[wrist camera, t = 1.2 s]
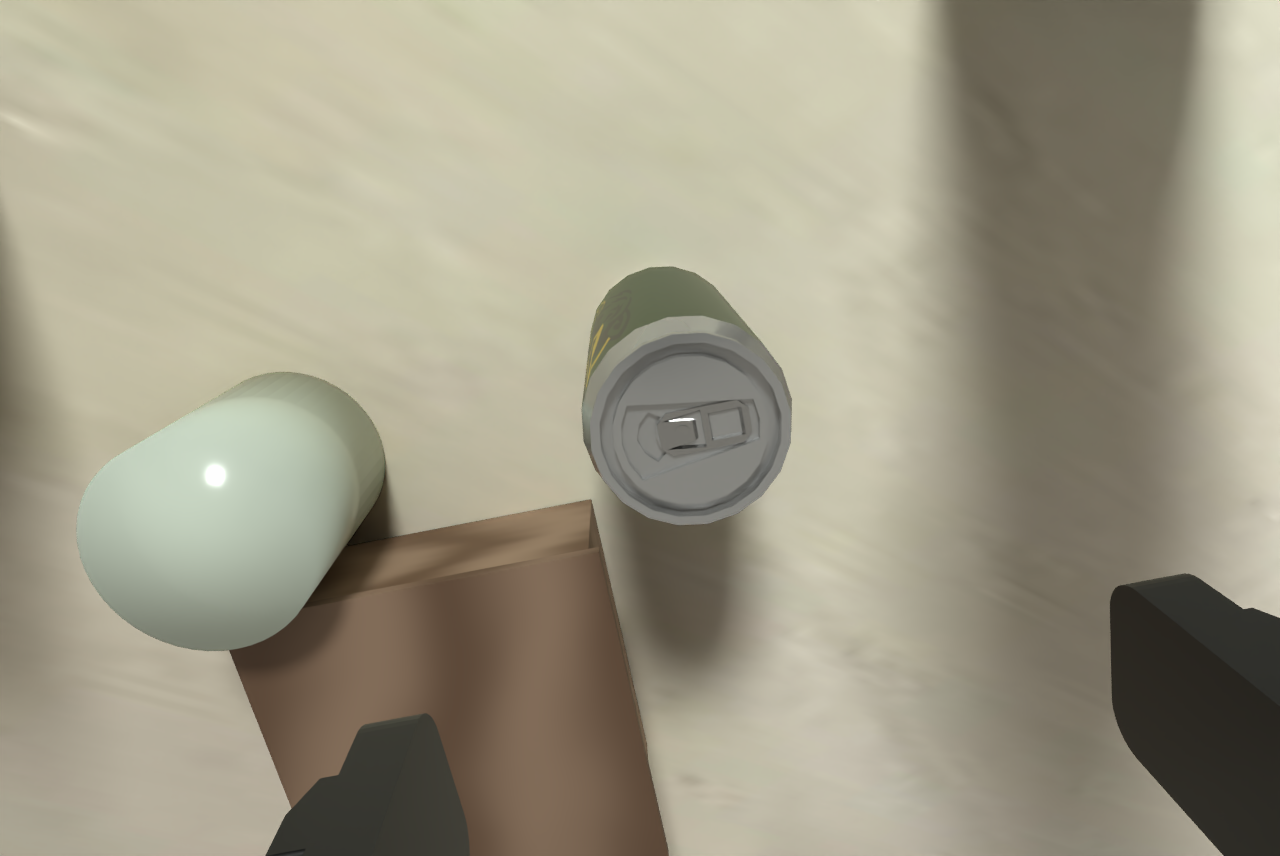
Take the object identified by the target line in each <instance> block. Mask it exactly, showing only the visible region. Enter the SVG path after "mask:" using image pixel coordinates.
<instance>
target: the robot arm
mask: <svg viewBox="0 0 1280 856" xmlns="http://www.w3.org/2000/svg"><path fill="white" fill-rule="evenodd" d="M1110 629H1111V677H1112V703H1113V709H1114V713H1115V717H1116V720H1117V723H1118V726H1119V729H1120V731H1121V733H1122V735H1123V738H1124V740H1125V741H1126V743H1127V745H1128V747H1129V748H1130V750H1131V751H1132V753H1133V754H1134V755H1135V757H1136V758H1137V759H1138V760H1139V761H1140V762H1141V764H1142V765H1143V766H1144V767H1145V768H1146V769H1147V770H1148V771H1149V773H1150V774H1151V775H1152V776H1153V777H1154V778H1155V779H1156V780H1157V781H1158V783H1159V784H1160V785H1161V786H1162V787H1163V788H1164V789H1165V790H1166V792H1167V793H1168V794H1169V795H1170V796H1171V797H1172V798H1173V799H1174V801H1175V802H1176V803H1177V804H1178V805H1179V806H1180V807H1181V808H1182V809H1183V811H1184V812H1185V813H1186V814H1187V815H1188V816H1189V817H1190V818H1191V820H1192V821H1193V822H1194V823H1195V824H1196V825H1197V826H1198V827H1199V829H1200V830H1201V831H1202V832H1203V833H1204V834H1205V835H1206V836H1207V838H1208V839H1209V840H1210V841H1211V842H1212V843H1213V844H1214V845H1215V846H1216V848H1217V849H1218V850H1219V851H1220V852H1221V853H1222V854H1223V855H1224V856H1280V618H1278V617H1275V616H1273V615H1270V614H1268V613H1265V612H1262V611H1260V610H1257V609H1254V608H1249V609H1242V608H1241V607H1239V606H1238V605H1236V604H1235V603H1234V602H1232V601H1231V600H1229V599H1228V598H1226V597H1225V596H1224V595H1222V594H1221V593H1219V592H1218V591H1216V590H1215V589H1213V588H1212V587H1211V586H1209V585H1208V584H1206V583H1205V582H1203V581H1202V580H1201V579H1199V578H1197V577H1196V576H1194V575H1191V574H1179V575H1174V576H1169V577H1163V578H1158V579H1152V580H1147V581H1142V582H1136V583H1131V584H1126V585H1121V586H1118V587H1117V588H1115V590H1114V591H1113V593H1112V596H1111V601H1110ZM266 856H470V848H469V835H468V828H467V823H466V818H465V815H464V811H463V808H462V805H461V802H460V799H459V795H458V792H457V789H456V786H455V783H454V780H453V776H452V773H451V770H450V767H449V764H448V761H447V757H446V754H445V751H444V748H443V745H442V741H441V738H440V735H439V732H438V729H437V726H436V724H435V722H434V720H433V718H432V717H431V716H430V715H429V714H427V713H424V714H418V715H413V716H408V717H402V718H397V719H391V720H386V721H381V722H375V723H370V724H365V725H363V726H362V727H361V728H360V729H359V730H358V732H357V734H356V736H355V739H354V741H353V743H352V745H351V748H350V750H349V752H348V754H347V757H346V759H345V761H344V763H343V766H342V768H341V770H340V772H339V775H335V776H330V777H325V778H320V779H319V780H318V781H317V782H316V783H315V784H314V785H313V786H312V787H311V789H310V790H309V791H308V792H307V793H306V794H305V795H304V796H303V797H302V798H301V799H300V800H299V801H298V803H297V804H296V805H295V806H294V807H293V808H292V809H291V810H290V811H289V812H288V813H287V814H286V815H285V817H284V819H283V821H282V823H281V825H280V827H279V829H278V831H277V833H276V835H275V837H274V839H273V841H272V844H271V846H270V848H269V850H268V852H267V854H266Z"/></svg>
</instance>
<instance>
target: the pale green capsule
mask: <svg viewBox="0 0 1280 856" xmlns="http://www.w3.org/2000/svg"><path fill="white" fill-rule="evenodd" d="M384 475H385V458H384V451H383V446H382V442H381V440H380V437H379V434H378V432H377V430H376V428H375V426H374V424H373V422H372V420H371V419H370V418H369V416H368V415H367V413H366V412H365V411H364V410H363V408H362V407H361V406H360V405H359V404H358V403H357V402H356V401H355V400H354V399H353V398H351V397H350V396H349V395H348V394H347V393H345V392H344V391H342V390H341V389H339V388H338V387H336V386H334V385H332V384H330V383H328V382H326V381H324V380H321V379H319V378H316V377H313V376H309V375H305V374H300V373H292V372H275V373H267V374H263V375H259V376H255V377H252V378H250V379H248V380H245V381H243V382H241V383H240V384H238V385H236V386H234V387H233V388H231V389H229V390H228V391H226V392H224V393H223V394H221V395H219V396H217V397H216V398H214V399H212V400H211V401H209V402H207V403H206V404H204V405H202V406H201V407H199V408H197V409H195V410H194V411H192V412H190V413H189V414H187V415H185V416H184V417H182V418H180V419H179V420H177V421H175V422H173V423H172V424H170V425H168V426H167V427H165V428H163V429H162V430H160V431H158V432H157V433H155V434H153V435H151V436H150V437H148V438H146V439H145V440H143V441H141V442H140V443H138V444H136V445H134V446H133V447H131V448H129V449H128V450H126V451H124V452H123V453H121V454H119V455H118V456H116V457H114V458H113V459H112V460H111V461H109V462H108V463H107V464H106V465H105V466H103V467H102V468H101V470H100V471H99V472H98V473H97V474H96V475H95V476H94V477H93V479H92V481H91V482H90V484H89V485H88V487H87V489H86V491H85V493H84V495H83V498H82V500H81V503H80V507H79V511H78V515H77V526H76V532H77V544H78V549H79V554H80V558H81V561H82V563H83V566H84V569H85V571H86V573H87V575H88V577H89V579H90V581H91V583H92V585H93V586H94V587H95V589H96V590H97V592H98V593H99V595H100V596H101V597H102V599H103V600H104V601H105V602H106V603H107V604H108V605H109V606H110V608H111V609H113V610H114V611H115V612H116V613H117V614H118V615H119V616H120V617H121V618H122V619H124V620H125V621H127V622H128V623H129V624H131V625H132V626H133V627H135V628H137V629H138V630H140V631H142V632H144V633H145V634H147V635H149V636H151V637H153V638H156V639H158V640H160V641H162V642H165V643H169V644H172V645H175V646H178V647H183V648H188V649H193V650H203V651H225V650H233V649H239V648H243V647H247V646H251V645H253V644H256V643H258V642H261V641H263V640H265V639H267V638H269V637H271V636H273V635H274V634H276V633H277V632H279V631H280V630H282V629H283V628H284V627H286V626H287V625H288V624H289V623H290V622H291V621H292V620H293V619H294V618H295V617H296V616H297V614H298V613H299V612H300V610H301V609H302V607H303V606H304V605H305V603H306V602H307V600H308V599H309V598H310V596H311V595H312V593H313V592H314V590H315V589H316V587H317V586H318V585H319V583H320V582H321V580H322V579H323V577H324V576H325V574H326V573H327V572H328V570H329V569H330V567H331V566H332V564H333V563H334V562H335V560H336V559H337V557H338V556H339V554H340V553H341V551H342V550H343V549H344V547H345V546H346V544H347V543H348V541H349V540H350V539H351V537H352V536H353V534H354V533H355V531H356V530H357V528H358V527H359V526H360V524H361V523H362V521H363V520H364V518H365V517H366V516H367V514H368V513H369V511H370V510H371V508H372V507H373V505H374V504H375V502H376V500H377V498H378V496H379V494H380V491H381V488H382V485H383V480H384Z"/></svg>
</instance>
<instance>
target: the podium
mask: <svg viewBox="0 0 1280 856" xmlns="http://www.w3.org/2000/svg"><path fill="white" fill-rule="evenodd" d="M229 651H230V653H231V656H232V659H233V661H234V664H235V666H236V669H237V671H238V674H239V676H240V679H241V681H242V684H243V686H244V689H245V691H246V694H247V696H248V699H249V702H250V704H251V707H252V709H253V712H254V714H255V717H256V719H257V722H258V724H259V727H260V729H261V732H262V734H263V737H264V740H265V742H266V745H267V747H268V750H269V752H270V755H271V757H272V760H273V762H274V765H275V767H276V770H277V772H278V775H279V777H280V780H281V783H282V785H283V788H284V790H285V793H286V795H287V798H288V800H289V803H290V805H291V808H293V807H294V806H295V805H296V804H297V803H298V801H299V800H300V799H301V798H302V797H303V796H304V795H305V794H306V793H307V792H308V791H309V790H310V789H311V787H312V786H313V785H314V784H315V783H316V782H317V781H318V780H319V779H320V778H325V777H330V776H335V775H339V772H340V770H341V768H342V766H343V763H344V761H345V759H346V757H347V754H348V752H349V750H350V748H351V745H352V743H353V741H354V739H355V736H356V734H357V732H358V730H359V729H360V728H361V727H362V726H363V725H365V724H370V723H375V722H381V721H386V720H391V719H397V718H402V717H408V716H413V715H418V714H424V713H427V714H429V715H430V716H431V717H432V718H433V720H434V722H435V724H436V726H437V729H438V732H439V735H440V738H441V741H442V745H443V748H444V751H445V754H446V757H447V761H448V764H449V767H450V770H451V773H452V776H453V780H454V783H455V786H456V789H457V792H458V795H459V799H460V802H461V805H462V808H463V811H464V815H465V818H466V823H467V828H468V835H469V848H470V856H669V853H668V846H667V842H666V838H665V833H664V829H663V825H662V820H661V816H660V811H659V807H658V803H657V798H656V794H655V790H654V785H653V781H652V776H651V772H650V768H649V763H648V754H647V743H646V738H645V734H644V729H643V725H642V721H641V716H640V712H639V707H638V703H637V699H636V694H635V690H634V685H633V681H632V677H631V672H630V668H629V663H628V659H627V655H626V650H625V646H624V641H623V637H622V633H621V628H620V624H619V619H618V615H617V611H616V606H615V602H614V597H613V593H612V589H611V584H610V580H609V575H608V571H607V567H606V562H605V558H604V553H603V549H602V545H601V540H600V536H599V531H598V527H597V522H596V518H595V514H594V509H593V505H592V500H585V501H580V502H575V503H570V504H565V505H559V506H554V507H549V508H544V509H538V510H533V511H528V512H523V513H518V514H512V515H507V516H502V517H497V518H491V519H486V520H481V521H476V522H471V523H465V524H460V525H455V526H450V527H445V528H439V529H434V530H429V531H424V532H418V533H413V534H408V535H403V536H398V537H392V538H387V539H382V540H377V541H371V542H366V543H361V544H356V545H351V546H345V547H344V549H343V550H342V551H341V553H340V554H339V556H338V557H337V559H336V560H335V562H334V563H333V564H332V566H331V567H330V569H329V570H328V572H327V573H326V574H325V576H324V577H323V579H322V580H321V582H320V583H319V585H318V586H317V587H316V589H315V590H314V592H313V593H312V595H311V596H310V598H309V599H308V600H307V602H306V603H305V605H304V606H303V607H302V609H301V610H300V612H299V613H298V614H297V616H296V617H295V618H294V619H293V620H292V621H291V622H290V623H289V624H288V625H287V626H286V627H284V628H283V629H282V630H280V631H279V632H277V633H276V634H274V635H273V636H271V637H269V638H267V639H265V640H263V641H261V642H258V643H256V644H253V645H251V646H247V647H243V648H239V649H233V650H229Z"/></svg>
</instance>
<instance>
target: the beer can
mask: <svg viewBox="0 0 1280 856" xmlns="http://www.w3.org/2000/svg"><path fill="white" fill-rule="evenodd" d="M791 420H792V398H791V395H790V392H789V389H788V386H787V383H786V380H785V377H784V374H783V371H782V368H781V367H780V366H779V364H778V363H777V362H776V361H775V359H774V358H773V357H772V355H771V354H770V353H769V351H768V350H767V349H766V347H765V346H764V345H763V343H762V342H761V341H760V340H759V339H758V337H757V336H756V335H755V334H754V333H753V332H752V330H751V329H750V328H749V327H748V326H747V324H746V323H745V322H744V321H743V320H742V319H741V317H740V316H739V315H738V314H737V313H736V311H735V310H734V309H733V308H732V307H731V306H730V304H729V303H728V302H727V301H726V300H725V298H724V297H723V296H722V295H721V294H720V293H719V291H718V290H717V289H716V288H715V287H714V286H713V285H712V284H710V283H709V282H707V281H706V280H705V279H703V278H702V277H700V276H699V275H697V274H696V273H693V272H690V271H686V270H683V269H679V268H676V267H651V268H647V269H644V270H642V271H639V272H636V273H634V274H631V275H628V276H627V277H625V278H624V279H623V280H622V281H620V282H619V283H618V284H617V285H615V286H614V287H613V288H612V289H610V290H609V292H608V293H607V295H606V296H605V298H604V299H603V301H602V302H601V304H600V305H599V307H598V308H597V310H596V314H595V318H594V322H593V325H592V329H591V334H590V343H589V351H588V360H587V368H586V377H585V385H584V393H583V402H582V423H583V439H584V443H585V446H586V448H587V450H588V453H589V455H590V458H591V460H592V463H593V465H594V467H595V470H596V471H597V472H598V473H599V475H600V476H601V477H602V479H603V481H604V482H605V483H606V484H607V485H608V486H609V487H610V489H611V490H612V491H613V492H614V493H615V494H616V496H617V497H618V498H619V499H620V500H621V501H622V502H623V503H624V504H626V505H628V506H629V507H631V508H633V509H634V510H636V511H637V512H639V513H641V514H642V515H644V516H646V517H647V518H650V519H654V520H658V521H662V522H666V523H671V524H675V525H693V524H709V523H712V522H715V521H718V520H720V519H723V518H726V517H729V516H732V515H735V514H737V513H739V512H740V511H742V510H743V509H744V508H746V507H747V506H748V505H750V504H751V503H753V502H754V501H755V500H757V499H758V498H760V497H761V496H762V495H763V494H764V492H765V491H766V490H767V489H768V487H769V486H770V485H771V483H772V482H773V481H774V479H775V478H776V477H777V475H778V474H779V473H780V471H781V468H782V466H783V463H784V460H785V457H786V454H787V451H788V449H789V446H790V443H791Z"/></svg>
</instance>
